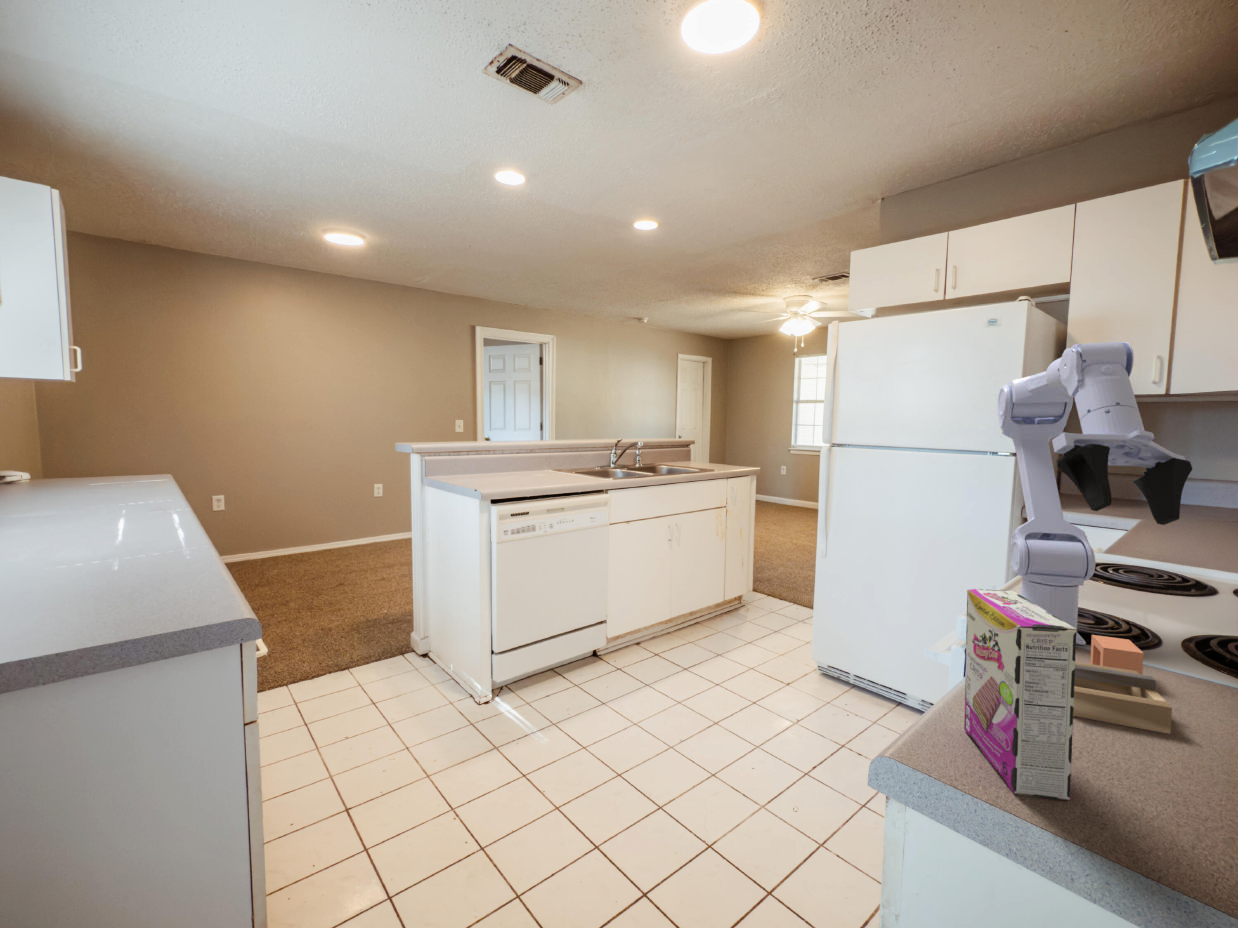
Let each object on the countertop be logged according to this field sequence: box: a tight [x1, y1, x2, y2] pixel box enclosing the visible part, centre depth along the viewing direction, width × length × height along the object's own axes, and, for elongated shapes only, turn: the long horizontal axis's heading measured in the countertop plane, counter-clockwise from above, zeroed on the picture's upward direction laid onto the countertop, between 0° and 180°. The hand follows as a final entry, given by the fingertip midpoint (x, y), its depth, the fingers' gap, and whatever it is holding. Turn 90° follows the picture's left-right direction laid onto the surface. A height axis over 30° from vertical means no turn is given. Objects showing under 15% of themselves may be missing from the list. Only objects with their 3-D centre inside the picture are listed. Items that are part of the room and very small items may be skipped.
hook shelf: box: [1073, 661, 1173, 735], centre depth 66 cm, size 10×9×4 cm
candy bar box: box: [963, 588, 1078, 801], centre depth 54 cm, size 11×5×16 cm, turn 168°
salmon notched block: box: [1089, 634, 1144, 675], centre depth 73 cm, size 5×4×4 cm
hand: (1134, 514), depth 62 cm, fingers open, 7 cm apart
